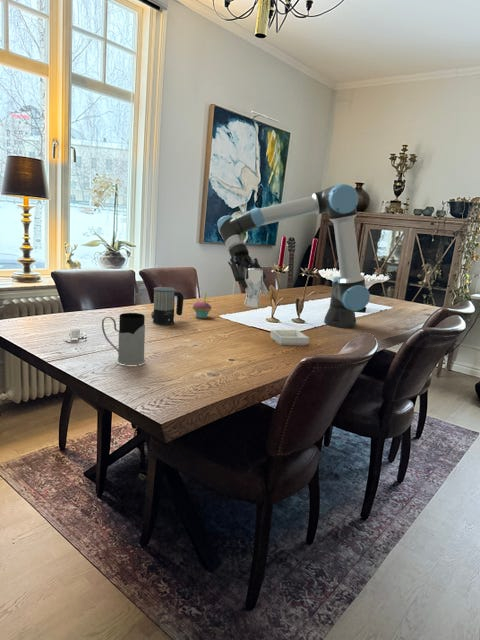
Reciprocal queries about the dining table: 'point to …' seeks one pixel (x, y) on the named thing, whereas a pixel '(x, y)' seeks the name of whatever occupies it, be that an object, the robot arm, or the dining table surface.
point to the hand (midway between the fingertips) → (258, 294)
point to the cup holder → (289, 337)
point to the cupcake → (202, 308)
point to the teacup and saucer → (76, 333)
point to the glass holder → (130, 338)
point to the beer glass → (254, 286)
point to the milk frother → (166, 305)
